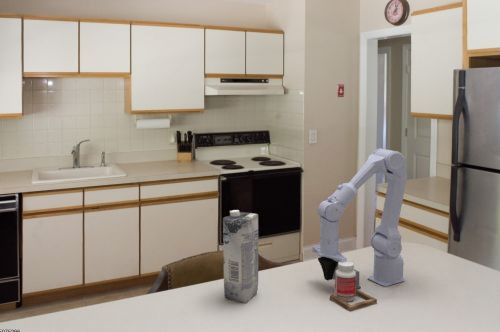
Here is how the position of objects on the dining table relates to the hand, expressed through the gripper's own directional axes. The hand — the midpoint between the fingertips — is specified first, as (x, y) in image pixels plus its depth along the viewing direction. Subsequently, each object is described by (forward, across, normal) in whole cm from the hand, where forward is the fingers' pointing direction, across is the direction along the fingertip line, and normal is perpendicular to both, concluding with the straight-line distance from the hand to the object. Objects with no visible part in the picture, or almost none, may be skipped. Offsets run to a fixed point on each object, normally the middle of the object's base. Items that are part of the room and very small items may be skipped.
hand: (328, 279), depth 150 cm
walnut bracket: (+3, +11, 0) cm, 11 cm away
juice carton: (+3, -9, -27) cm, 29 cm away
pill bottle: (+3, +8, 0) cm, 9 cm away
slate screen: (+3, -1, +7) cm, 8 cm away
